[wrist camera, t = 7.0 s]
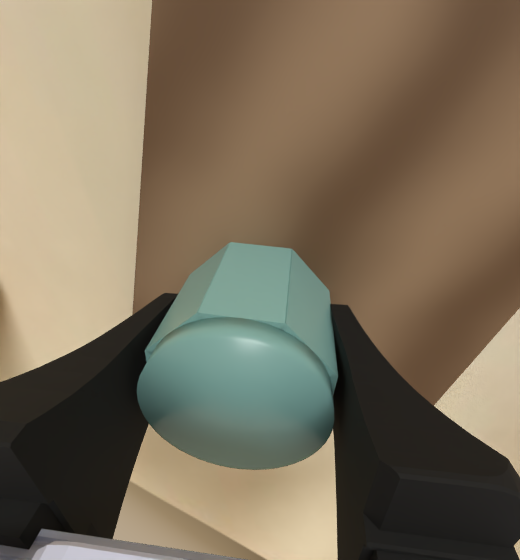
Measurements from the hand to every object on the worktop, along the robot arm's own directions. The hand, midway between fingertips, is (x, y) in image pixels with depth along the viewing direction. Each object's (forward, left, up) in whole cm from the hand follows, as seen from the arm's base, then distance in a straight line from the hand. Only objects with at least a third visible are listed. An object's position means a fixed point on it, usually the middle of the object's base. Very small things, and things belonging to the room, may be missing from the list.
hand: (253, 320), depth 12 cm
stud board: (-2, -3, -2) cm, 4 cm away
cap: (0, 0, -1) cm, 1 cm away
